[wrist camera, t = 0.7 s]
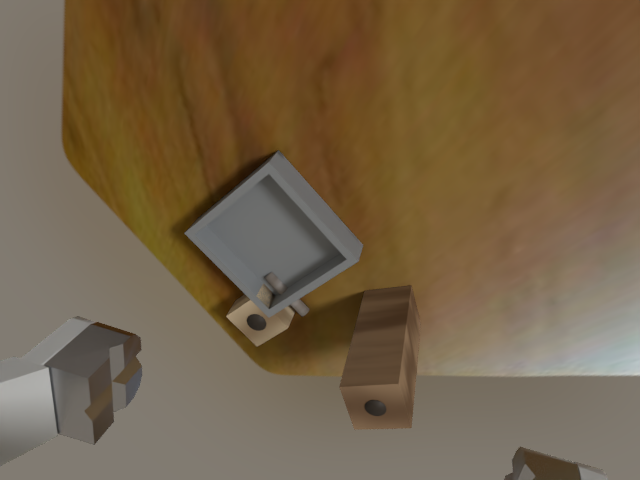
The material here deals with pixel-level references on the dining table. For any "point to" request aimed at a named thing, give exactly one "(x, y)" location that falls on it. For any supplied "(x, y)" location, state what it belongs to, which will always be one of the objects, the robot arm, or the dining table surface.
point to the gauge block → (255, 320)
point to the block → (383, 360)
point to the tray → (275, 235)
